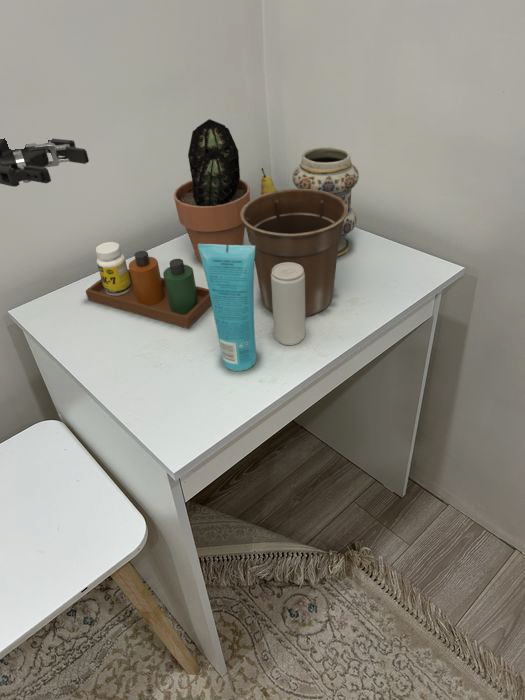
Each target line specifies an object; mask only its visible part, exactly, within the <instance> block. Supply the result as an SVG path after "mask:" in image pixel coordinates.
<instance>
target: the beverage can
mask: <svg viewBox="0 0 525 700" xmlns="http://www.w3.org/2000/svg"><path fill="white" fill-rule="evenodd" d="M271 285H272V302H273V312H272V320H273V336H274V338H275V340H276V341H277V342H278V343H280V344H282V345H284V346H294V345H298V344H299V343H302V341H303V340H304V338H305V337H306V316H305V273H304V269H303V267H302V266H301V265H299V264H297V263H292V262H285V263H280V264H278V265H276V266H274V267H273V269H272V274H271Z"/></svg>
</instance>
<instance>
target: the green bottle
mask: <svg viewBox="0 0 525 700" xmlns="http://www.w3.org/2000/svg"><path fill="white" fill-rule="evenodd" d="M162 276H163V278H164V281H165V286H166V291H167V296H168V301H169V306H170V310H171V311H172V312H174V313H177V314H181V315H185V314H188V313H189V312H190V311H191V310H192V309H193V308H194V307H195V306H196V305H197V304H198V298H197V292H196V286H197V285H196V280H195V279H196V278H195V274H194V269H193V267H192V266H191V265H189V264H185V262H184V260H183V259H182V258H173V259H171V260H170V261H169V267H166V268H165V270H164V271H163V272H162Z"/></svg>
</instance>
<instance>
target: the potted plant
mask: <svg viewBox="0 0 525 700" xmlns="http://www.w3.org/2000/svg"><path fill="white" fill-rule="evenodd" d="M190 138H191V139H190V143H189V148H188V153H187V158H188V163H189V171H190V175H191V180H188V181H186V182H185V183H182V184H180V186H178V187H177V188H176V189H175V190H174V193H173V198H174V202H175V203H174V204H175V207H176V212H177V217H178V220H179V222H180V224H181V225H182V226H183V227H184V228H185V230H186V233H187V236H188V239H189V240H190V243H191V246H192V248H193V251H194V254H195V256H196V259H197V261H198V262H199V263H200V264H202V265H203V263H202V260H201V256H200V253H199V249H198V244H217V245H244V240H245V231H246V227H245V225H244V223H243V222H242V219H241V210H242V208H243V207H244V206H245V205H246V204H247V203H248V202H249V201H251V191H250V189H251V188H250V185H249V184H248V183H247V182H246V181H244V180H242V179H241V172H240V171H241V169H240V155H239V150H238V147H237V145H236V142H235V139H234V138H233V136H232V133H231V131H230V129H229V127H227V126H226V125H225V124H223V123H220V122H218V121H216V120H213V119H211V118H208V119H207V120H206V121H204V122H203V123H201V124H200V125H198V126H197V127H196V128H195V129H194V130H192V133H191V137H190Z"/></svg>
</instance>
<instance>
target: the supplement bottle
mask: <svg viewBox="0 0 525 700" xmlns="http://www.w3.org/2000/svg"><path fill="white" fill-rule="evenodd" d="M95 253H96V257H97V258H96V265H97V269H98V272H99V275H100V279H102V283H103V286H104V290H105V292H106V293H107V294H109V295H113V296H119V295H123V294H125V293H127V292H128V291H129V290H130V289H131V281H130V277H129V273H128V270H129V268H128V265H127V262H126V257H125V256H124V254H123V253H122V250H121V246H120V244H119V243H118V242H115V241H107V242H103V243H101V244H100V243H99V245H97V246H96V248H95Z"/></svg>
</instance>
